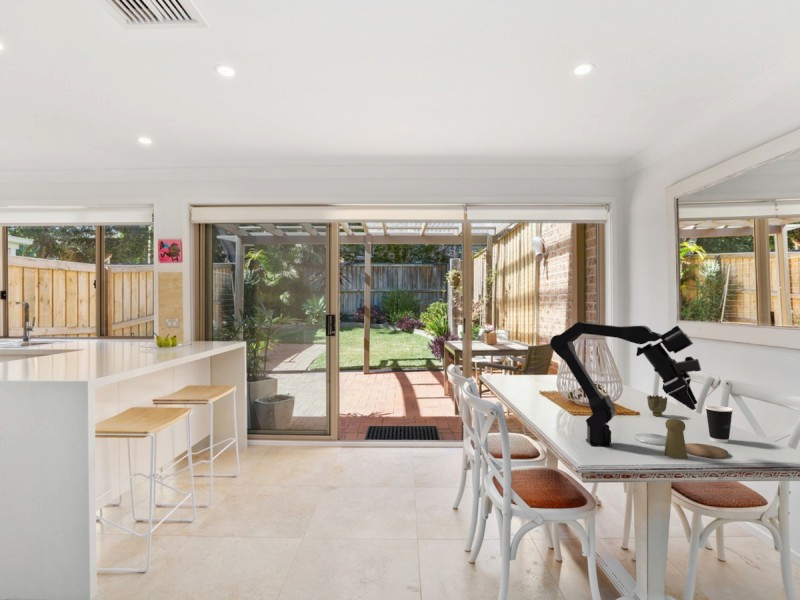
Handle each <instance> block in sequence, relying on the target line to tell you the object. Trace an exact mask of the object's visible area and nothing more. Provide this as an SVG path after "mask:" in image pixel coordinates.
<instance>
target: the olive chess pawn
mask: <svg viewBox="0 0 800 600" xmlns="http://www.w3.org/2000/svg"><path fill="white" fill-rule="evenodd" d="M665 428H666V429H667V431H666V436H667V438H666V445H665V447H664V453H663V455H664V456H665V457H667V458H670V459H675V460H686V459H688V453H687V452H686V446H685V444H686V440H685V434H684V431H685V430H686V424H685V422H684V420H681V419H677V418H669V419H666V421H665Z"/></svg>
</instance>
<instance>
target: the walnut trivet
mask: <svg viewBox="0 0 800 600" xmlns="http://www.w3.org/2000/svg"><path fill="white" fill-rule="evenodd" d="M685 446H686V452H687V455H691V456H695V457H700V458H704V459H705V458H706V459H719V460H720V459H726V458H728V457H729V451H728V450H727V449H726V448H725V449H724V448H722V447H719V446H716V445H711V444H705V443H692V442H691V443H689V442H688V443H685Z"/></svg>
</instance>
